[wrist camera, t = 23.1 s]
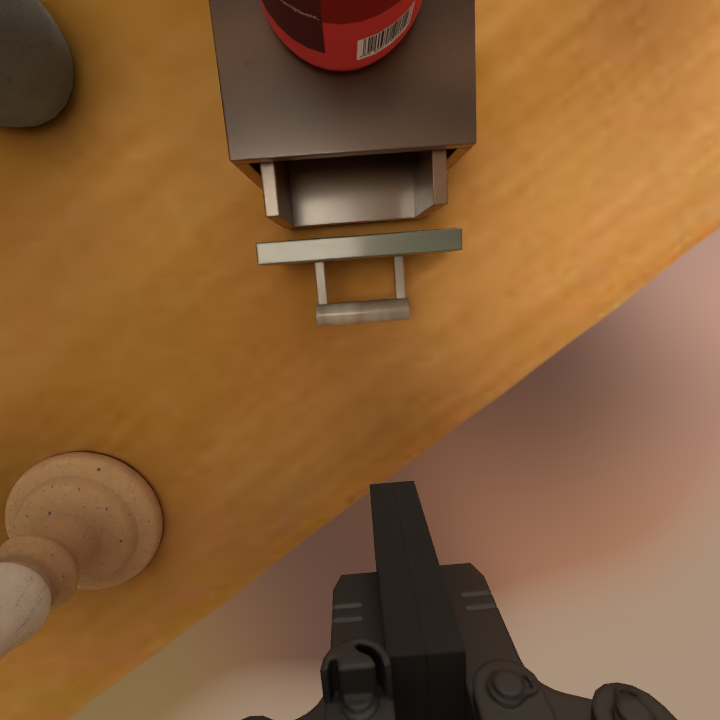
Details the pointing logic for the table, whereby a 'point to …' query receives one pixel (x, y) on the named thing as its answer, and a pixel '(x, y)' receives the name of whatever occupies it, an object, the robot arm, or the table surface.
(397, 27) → the canned food
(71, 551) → the candle holder
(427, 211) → the drawer
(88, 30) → the table surface
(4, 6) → the bottle
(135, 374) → the table surface
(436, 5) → the cabinet
